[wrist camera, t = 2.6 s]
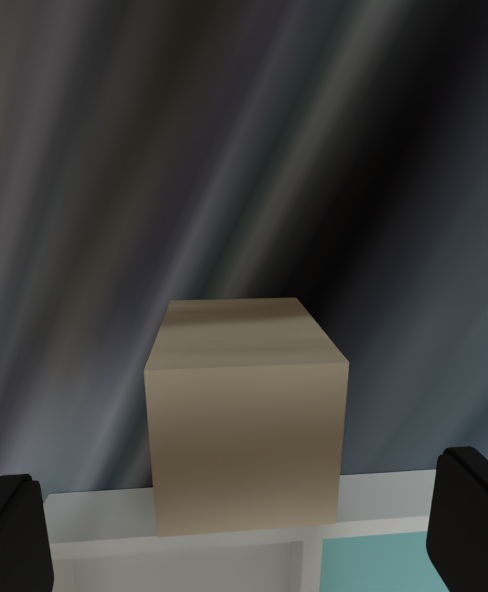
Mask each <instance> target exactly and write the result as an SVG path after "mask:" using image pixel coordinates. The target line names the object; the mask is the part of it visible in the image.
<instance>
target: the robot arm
mask: <svg viewBox="0 0 488 592" xmlns="http://www.w3.org/2000/svg"><path fill="white" fill-rule="evenodd" d="M426 550H427V554H428V557H429V559H430V561H431V563H432V564H433V566H434V568H435V569H436V571H437V572H438V574H439V576H440V577H441V579H442V580H443V582H444V584H445V585H446V587H447V589H448V590H449V592H488V460H487V459H486V458H485V457H484V456H483V455H482V454H480V453H479V452H478V451H477V450H476V449H475V448H473V447H470V446H467V447H451V448H446V449H445V450H444V452H443V455H440V456H439V457H438V461H437V468H436V475H435V482H434V488H433V495H432V502H431V509H430V516H429V523H428V530H427V537H426ZM53 585H54V570H53V564H52V557H51V551H50V545H49V538H48V532H47V526H46V519H45V513H44V507H43V500H42V494H41V488H40V483H39V482H38V481H33V480H32V477H31V476H30V475H29V474H20V475H4V476H0V592H52V590H53Z"/></svg>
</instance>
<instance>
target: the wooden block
mask: <svg viewBox="0 0 488 592" xmlns="http://www.w3.org/2000/svg"><path fill="white" fill-rule="evenodd" d="M348 372H349V362H348V360H347V359H346V358H345V357H344V355H343V354H342V353H341V352H340V351H339V349H338V348H337V347H336V346H335V344H334V343H333V342H332V341H331V340H330V338H329V337H328V336H327V335H326V333H325V332H324V331H323V330H322V329H321V327H320V326H319V325H318V324H317V322H316V321H315V320H314V319H313V318H312V316H311V315H310V314H309V313H308V311H307V310H306V309H305V308H304V307H303V305H302V304H301V303H300V302H299V300H298V299H297V298H255V299H213V300H171V301H170V302H169V305H168V308H167V310H166V313H165V315H164V318H163V321H162V323H161V326H160V329H159V331H158V334H157V337H156V339H155V342H154V345H153V347H152V350H151V353H150V355H149V358H148V361H147V363H146V366H145V369H144V381H145V393H146V406H147V418H148V431H149V443H150V456H151V468H152V481H153V493H154V506H155V518H156V531H157V537H170V536H183V535H196V534H210V533H223V532H236V531H249V530H262V529H275V528H288V527H301V526H315V525H328V524H336V517H337V505H338V493H339V481H340V469H341V457H342V445H343V433H344V421H345V409H346V397H347V384H348Z"/></svg>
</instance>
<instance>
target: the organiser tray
mask: <svg viewBox="0 0 488 592" xmlns="http://www.w3.org/2000/svg"><path fill="white" fill-rule="evenodd" d="M435 475H436V469H435V470H419V471H403V472H387V473H372V474H356V475H340V481H339V493H338V505H337V517H336V524H328V525H315V526H301V527H288V528H275V529H262V530H249V531H236V532H223V533H210V534H196V535H183V536H170V537H157V531H156V518H155V506H154V493H153V487H152V488H136V489H120V490H104V491H89V492H73V493H57V494H49V495H48V497H47V499H46V501H45V502H44V504H43V507H44V513H45V519H46V526H47V532H48V538H49V545H50V551H51V557H52V564H53V570H54V585H53V590H52V592H449V590H448V589H447V587H446V585H445V584H444V582H443V580H442V579H441V577H440V576H439V574H438V572H437V571H436V569H435V568H434V566H433V564H432V563H431V561H430V559H429V557H428V554H427V550H426V537H427V530H428V523H429V516H430V509H431V502H432V495H433V488H434V482H435Z"/></svg>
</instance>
